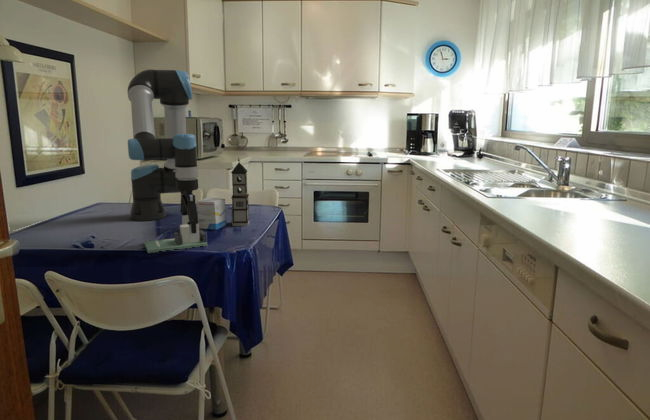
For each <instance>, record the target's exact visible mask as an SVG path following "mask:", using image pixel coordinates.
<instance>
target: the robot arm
mask: <svg viewBox="0 0 650 420" xmlns="http://www.w3.org/2000/svg"><path fill="white" fill-rule="evenodd" d="M127 86H128V87H127V98H128V100H129V101H130V106H131V121H132V137H133V138H129V139H128V140H127V149H128V153H127V154H128V158H129V159H130V160H131V161H152V160H153V161H154V160H155V161H157V160H158V161H159V160H165V161H164V163H163V167H160V165H158V164H147V165H141V166H136V167H134V168H133V169H131V172H130V175H131V176H130V180H131V188H132V189H131V191H132V206H131V209H130V212H129V217H130V220H132V221H136V222H138V221H139V222H143V221H144V222H145V221H155V220H161V219H164V218H166V217H167V211H166V208H165V207H164V204H163V201H162V197H161V196H162V195H163V194H179V193H180V210H179V211H180V213H181V223H182V224H181V225H185V224H188V225H189V238H190V243H191V242H198V231H197V224H198V212H197V201H196V195H195V194H193V191H197V190H199V180H198V177H199V174H198V173H199V171H198V163H197V162H198V158H197V141H196V140H197V138H196V135H194V134H193V133H187V119H186V107H188V106H189V104H190V101H191V100H193V90H192V89H193V88H192V84H191V80H190V76H189V74H188V72H187V71H184V70H177V69H145V70H141V71H140V72H138V73H137V74H136V75H134V77H133V78H132V79H131V80H130V82H129V84H128V85H127ZM153 100H159V103H160V105H161V106H163V108H164V109H163V110H164V112H163V113H164V126H165V127H164V128H165V137H164V138H156V132H155V131H156V130H155V129H156V128H155V120H154V113H153V112H154V111H153ZM161 194H162V195H161Z"/></svg>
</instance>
